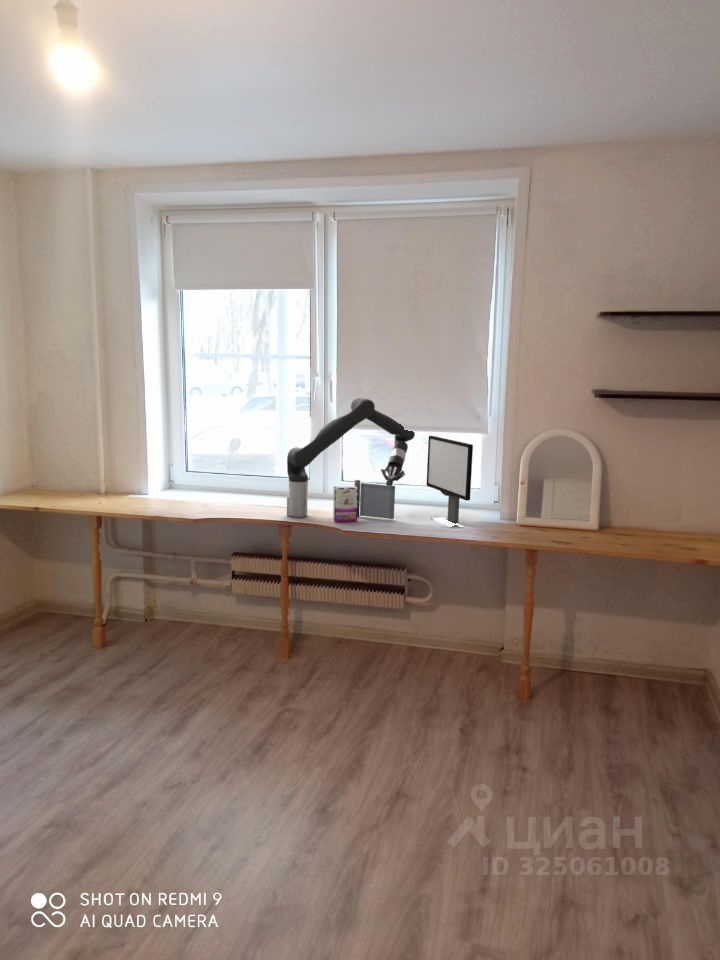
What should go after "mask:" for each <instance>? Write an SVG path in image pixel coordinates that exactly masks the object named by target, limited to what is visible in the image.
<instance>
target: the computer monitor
mask: <svg viewBox="0 0 720 960" xmlns="http://www.w3.org/2000/svg"><path fill="white" fill-rule="evenodd" d="M473 453H474V445H473V444H471V443H467V442H462V441H458V440H452V439H449V438H443V437H439V436H435V435H428V447H427V463H426V466H427V468H426V469H427V470H426V487H429V488H432V489H434V490H437V491H440V492H441V494H442V495H444V496H445V497H448V499H447V500H448V504H447V518H448V519H447V520H448V521H450V522H452V523H455V524H456V523H459V514H460V499H461V500H464V501H471V491H472V490H471V486H472V469H473ZM452 527H453V528H452V529H455V528H454V527H459V526H457V525H454V526H452Z"/></svg>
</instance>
